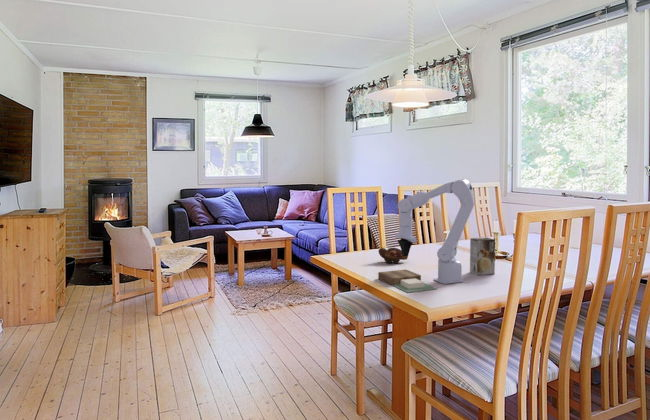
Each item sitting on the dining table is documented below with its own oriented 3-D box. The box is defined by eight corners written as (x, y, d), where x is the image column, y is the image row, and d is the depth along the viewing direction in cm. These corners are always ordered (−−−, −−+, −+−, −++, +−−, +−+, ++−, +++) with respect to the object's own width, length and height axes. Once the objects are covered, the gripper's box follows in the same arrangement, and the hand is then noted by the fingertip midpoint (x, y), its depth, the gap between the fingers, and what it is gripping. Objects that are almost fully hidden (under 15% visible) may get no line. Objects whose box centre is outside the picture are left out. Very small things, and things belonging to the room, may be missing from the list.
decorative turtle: (375, 261, 241) (376, 246, 241) (403, 262, 244) (404, 247, 243) (380, 264, 232) (381, 248, 231) (409, 265, 234) (410, 249, 234)
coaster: (415, 283, 196) (415, 278, 196) (424, 287, 190) (424, 282, 190) (400, 284, 194) (400, 279, 194) (409, 288, 187) (409, 283, 187)
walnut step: (405, 276, 210) (405, 269, 209) (420, 282, 199) (420, 275, 198) (378, 279, 205) (378, 272, 204) (392, 285, 193) (392, 278, 193)
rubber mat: (420, 282, 199) (420, 281, 199) (437, 289, 188) (437, 288, 188) (392, 285, 193) (392, 284, 193) (407, 292, 182) (407, 292, 182)
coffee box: (486, 271, 218) (487, 237, 217) (494, 274, 212) (495, 239, 211) (469, 272, 216) (470, 238, 215) (476, 275, 210) (477, 240, 209)
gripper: (389, 224, 211) (389, 253, 213) (406, 228, 198) (406, 259, 199) (403, 223, 214) (402, 252, 215) (420, 227, 201) (420, 258, 202)
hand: (405, 256), depth 207 cm, fingers closed
